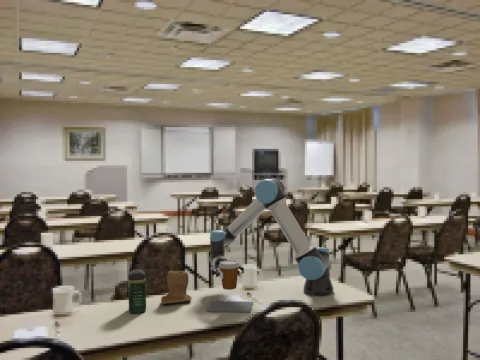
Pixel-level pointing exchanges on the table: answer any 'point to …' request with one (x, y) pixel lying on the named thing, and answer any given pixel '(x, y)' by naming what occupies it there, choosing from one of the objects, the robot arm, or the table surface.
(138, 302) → the coffee jar
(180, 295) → the tan ankle boots
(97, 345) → the table surface
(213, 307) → the rubber mat
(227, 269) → the disposable coffee cup
